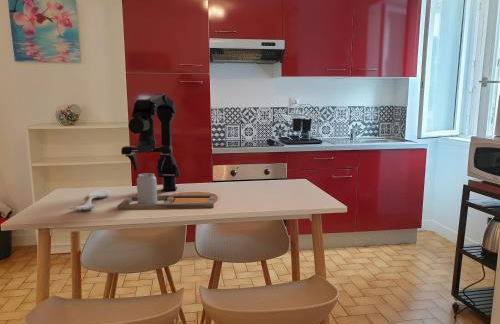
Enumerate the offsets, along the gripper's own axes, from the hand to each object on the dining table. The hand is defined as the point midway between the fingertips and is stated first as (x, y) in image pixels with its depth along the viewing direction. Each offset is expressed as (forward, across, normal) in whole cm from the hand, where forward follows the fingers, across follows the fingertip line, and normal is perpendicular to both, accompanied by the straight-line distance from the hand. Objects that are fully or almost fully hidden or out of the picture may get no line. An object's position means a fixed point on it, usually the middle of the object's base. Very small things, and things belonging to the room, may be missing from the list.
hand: (148, 171), depth 152 cm
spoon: (+14, -23, +4) cm, 27 cm away
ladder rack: (+13, +8, 0) cm, 15 cm away
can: (+13, -1, +1) cm, 13 cm away
